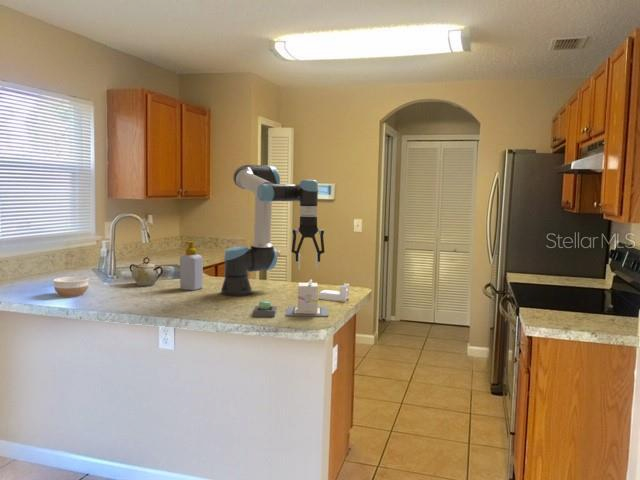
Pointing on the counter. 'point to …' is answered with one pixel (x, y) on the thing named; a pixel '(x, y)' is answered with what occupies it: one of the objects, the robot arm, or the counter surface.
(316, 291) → the ink box
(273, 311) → the button housing
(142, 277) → the sugar bowl
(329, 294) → the bracket
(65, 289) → the bowl
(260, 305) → the button
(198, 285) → the soap bottle
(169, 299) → the counter surface
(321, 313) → the clipboard
